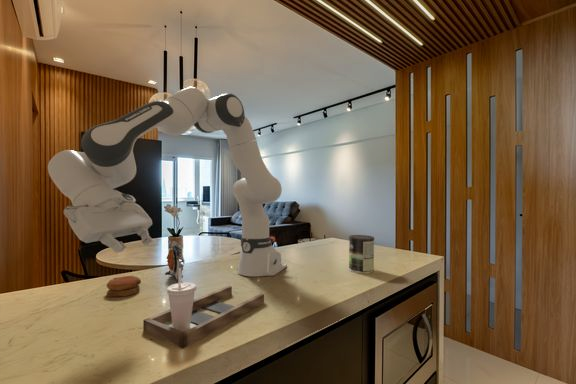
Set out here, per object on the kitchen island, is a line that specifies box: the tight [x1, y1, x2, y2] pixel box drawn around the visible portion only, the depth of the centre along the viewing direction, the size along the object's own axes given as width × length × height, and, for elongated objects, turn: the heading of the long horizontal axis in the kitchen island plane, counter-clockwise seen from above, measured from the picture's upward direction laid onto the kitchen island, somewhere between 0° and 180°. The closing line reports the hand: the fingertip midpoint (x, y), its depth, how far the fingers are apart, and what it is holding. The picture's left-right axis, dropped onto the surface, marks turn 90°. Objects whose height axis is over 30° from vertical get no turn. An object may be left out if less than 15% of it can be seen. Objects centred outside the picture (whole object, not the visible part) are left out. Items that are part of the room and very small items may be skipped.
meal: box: [164, 240, 185, 284], centre depth 103 cm, size 15×4×13 cm, turn 36°
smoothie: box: [166, 268, 197, 332], centre depth 64 cm, size 6×6×14 cm
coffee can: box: [348, 234, 375, 274], centre depth 115 cm, size 10×10×14 cm
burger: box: [106, 275, 142, 298], centre depth 88 cm, size 10×9×5 cm
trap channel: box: [142, 285, 265, 349], centre depth 71 cm, size 28×14×2 cm, turn 149°
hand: (136, 246), depth 65 cm, fingers open, 8 cm apart
